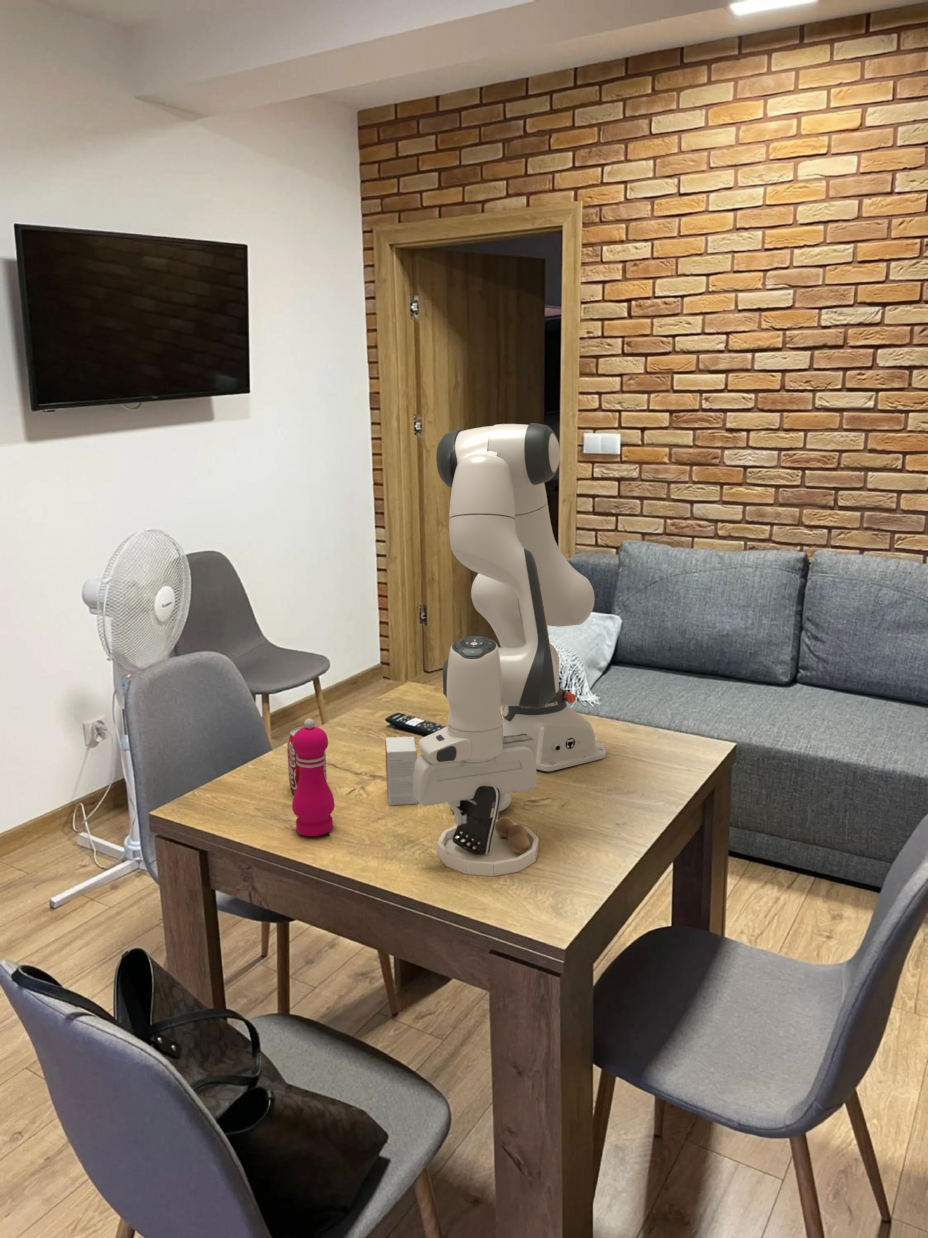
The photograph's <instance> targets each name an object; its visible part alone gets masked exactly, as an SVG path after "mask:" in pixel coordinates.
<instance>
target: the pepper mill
mask: <svg viewBox="0 0 928 1238" xmlns="http://www.w3.org/2000/svg"><path fill="white" fill-rule="evenodd" d="M315 725H316V723H315V720H313V719H312V718H306V719H305V720H304V722H303V726H302V727H303V728H301V729H299V730H298V731H297V732H296V733H295V735H294V737H293V741H292V745H293V749H294V750H295V752H296V753H297V754H298V755H297V756H296V759H297V762H296V763H297V765H298V766H299V769H300V776H299V783H298V786H297V789H296V791H295V793H294V794H293V797H292V806H291V807H292V812H293V814H294V815H295V816H296V820H295V826H296V827H295V828H296V832H297V833H298V834H299V835H302V836H306V837H317V836H323V835H325V834H328V833H329V832H331V831H333V830H332V829H333V827H334V826H333V816H332V815H331V814H332V813H333V812H334V809H335V805H336V804H335V799H334V794H333V792H332V791H331V788H330V785H329V784H328V782H327V779H325V776H324V764H325V762H326V763H327V754H326V750H327V748H328V746H329V740H328V735H327V733H326V732H325V730H323V729H322V728H321V727H318V726H315ZM304 726H305V727H304ZM324 751H325V753H324ZM325 757H326V759H325Z"/></svg>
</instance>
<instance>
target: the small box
mask: <svg viewBox="0 0 928 1238" xmlns="http://www.w3.org/2000/svg"><path fill="white" fill-rule="evenodd" d="M415 738H416V737H415V736H399V737H398V736H395V737H394V736H393V737H385V739H384V740H385V743H384V744H385V771H386V772H385V774H386V792H387V794H386V795H387V805H388V806H390V807H391V806H402V805H417V804H419V802H418V801H417V800H416V799H415V797H414V794H413V776H414V767H415V763H416V760H417V758H418V751H417V747H416V746H417V745H416V742H415Z"/></svg>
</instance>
